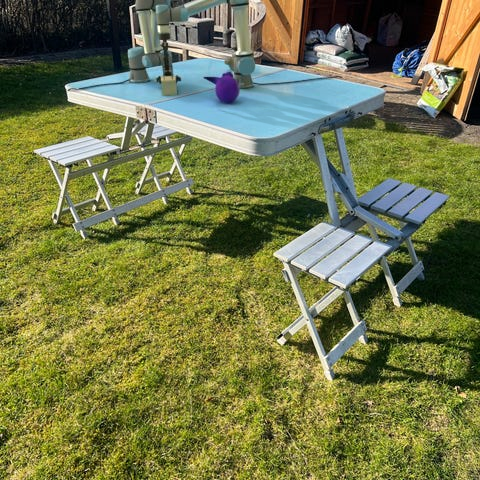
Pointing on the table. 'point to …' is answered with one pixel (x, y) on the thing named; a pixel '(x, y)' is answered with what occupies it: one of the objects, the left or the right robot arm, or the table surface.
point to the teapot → (230, 62)
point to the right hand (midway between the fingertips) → (167, 68)
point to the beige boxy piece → (168, 78)
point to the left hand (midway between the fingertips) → (168, 82)
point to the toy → (225, 87)
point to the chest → (169, 88)
